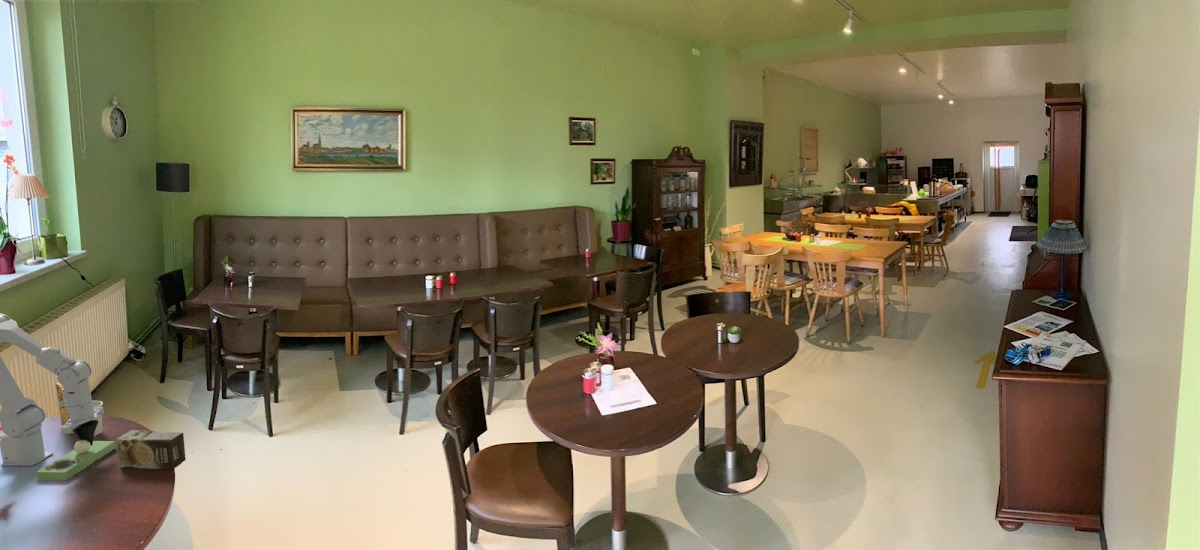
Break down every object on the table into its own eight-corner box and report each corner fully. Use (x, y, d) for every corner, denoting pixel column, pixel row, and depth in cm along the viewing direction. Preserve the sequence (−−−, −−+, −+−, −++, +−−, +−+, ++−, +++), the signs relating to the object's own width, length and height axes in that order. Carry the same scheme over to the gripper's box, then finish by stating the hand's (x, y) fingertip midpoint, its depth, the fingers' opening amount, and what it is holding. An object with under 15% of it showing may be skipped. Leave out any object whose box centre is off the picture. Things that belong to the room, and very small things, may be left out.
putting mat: (37, 480, 191) (36, 471, 191) (90, 448, 211) (88, 440, 210) (66, 480, 191) (64, 472, 191) (115, 448, 211) (114, 441, 210)
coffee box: (115, 438, 197) (168, 440, 196) (131, 429, 203) (183, 431, 202) (119, 468, 199) (172, 470, 198) (135, 458, 205) (186, 460, 204)
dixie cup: (70, 441, 216) (65, 411, 214) (81, 430, 224) (77, 401, 222) (100, 438, 218) (96, 408, 216) (111, 427, 226) (107, 399, 224)
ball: (73, 455, 202) (68, 447, 199) (82, 444, 205) (77, 436, 202) (87, 457, 202) (82, 449, 200) (95, 445, 205) (90, 437, 203)
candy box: (61, 427, 226) (54, 383, 223) (76, 423, 229) (70, 379, 226) (68, 434, 220) (61, 389, 217) (84, 430, 224) (77, 386, 221)
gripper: (75, 412, 194) (83, 456, 197) (110, 393, 208) (117, 435, 211) (50, 413, 194) (58, 457, 197) (87, 393, 208) (95, 435, 211)
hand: (87, 445), depth 204 cm, fingers closed, pressing on ball
